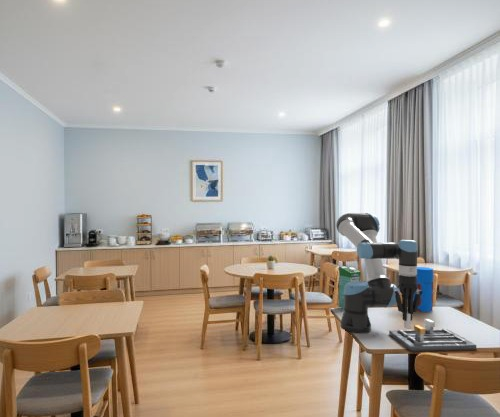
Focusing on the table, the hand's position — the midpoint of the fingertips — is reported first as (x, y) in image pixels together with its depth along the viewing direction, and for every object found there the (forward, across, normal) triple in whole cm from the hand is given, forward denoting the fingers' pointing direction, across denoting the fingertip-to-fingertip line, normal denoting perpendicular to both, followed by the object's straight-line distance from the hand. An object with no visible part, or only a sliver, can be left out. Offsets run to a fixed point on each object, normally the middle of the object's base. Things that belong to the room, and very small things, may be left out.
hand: (407, 327), depth 162 cm
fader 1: (+6, +6, +1) cm, 9 cm away
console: (+8, +14, +5) cm, 17 cm away
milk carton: (+8, -4, +61) cm, 62 cm away
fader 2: (+6, +16, +10) cm, 20 cm away
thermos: (+8, +40, +56) cm, 69 cm away
